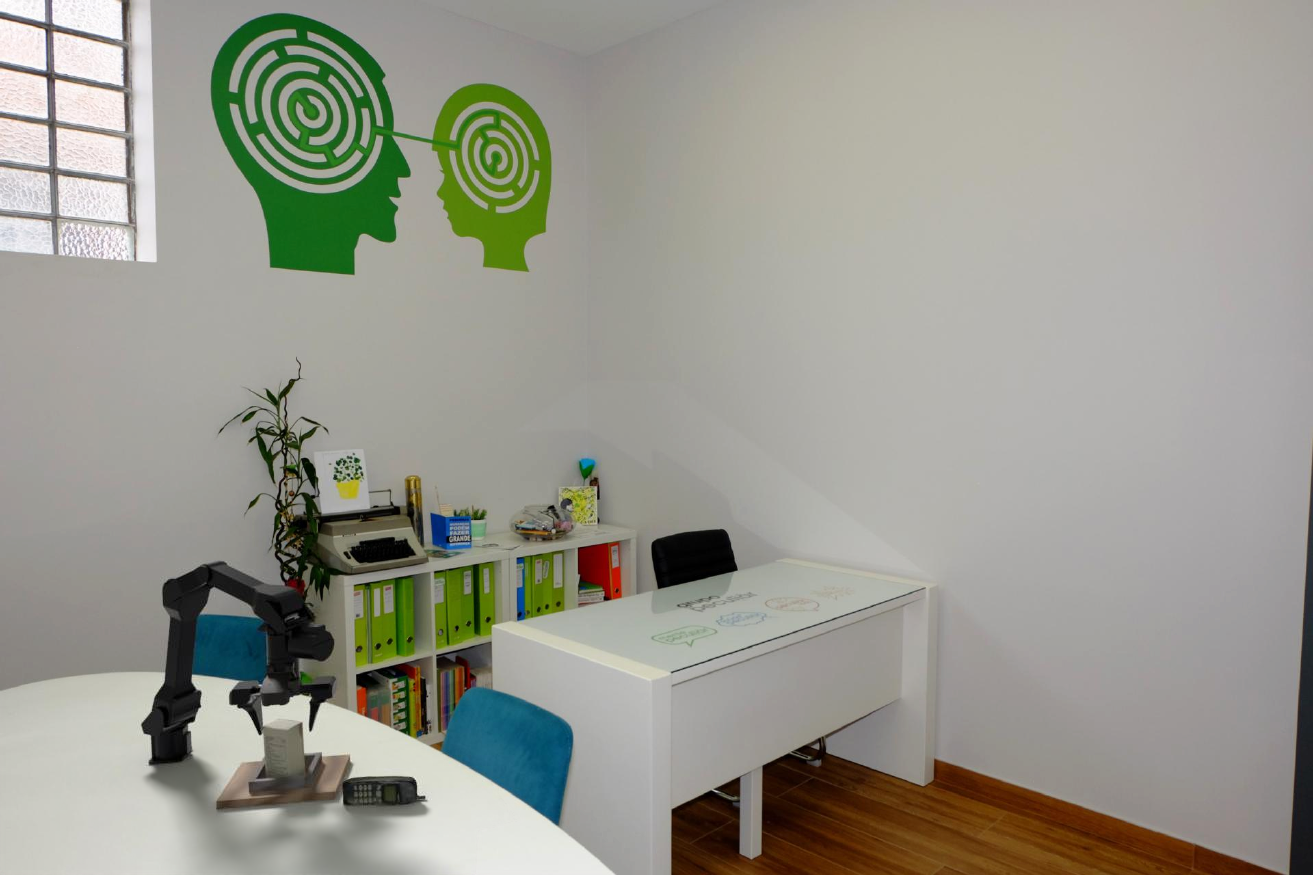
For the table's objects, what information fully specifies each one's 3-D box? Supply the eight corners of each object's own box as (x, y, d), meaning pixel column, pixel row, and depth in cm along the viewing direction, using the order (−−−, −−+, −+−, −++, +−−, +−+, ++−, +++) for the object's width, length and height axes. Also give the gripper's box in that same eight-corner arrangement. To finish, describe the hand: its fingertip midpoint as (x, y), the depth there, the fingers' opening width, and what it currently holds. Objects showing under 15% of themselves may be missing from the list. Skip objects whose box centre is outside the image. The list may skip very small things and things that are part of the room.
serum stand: (216, 808, 159) (215, 790, 159) (242, 769, 175) (241, 752, 175) (335, 798, 163) (335, 781, 163) (350, 761, 179) (349, 744, 178)
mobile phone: (340, 782, 160) (421, 779, 160) (345, 775, 163) (425, 771, 163) (341, 808, 160) (423, 804, 161) (346, 800, 163) (426, 796, 164)
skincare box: (306, 781, 170) (304, 721, 169) (291, 791, 166) (289, 730, 165) (280, 776, 172) (278, 717, 171) (264, 786, 168) (261, 725, 167)
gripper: (218, 671, 157) (221, 754, 158) (325, 665, 161) (328, 746, 162) (236, 652, 168) (239, 729, 169) (336, 646, 171) (339, 722, 173)
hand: (286, 732), depth 168 cm, fingers open, 9 cm apart
